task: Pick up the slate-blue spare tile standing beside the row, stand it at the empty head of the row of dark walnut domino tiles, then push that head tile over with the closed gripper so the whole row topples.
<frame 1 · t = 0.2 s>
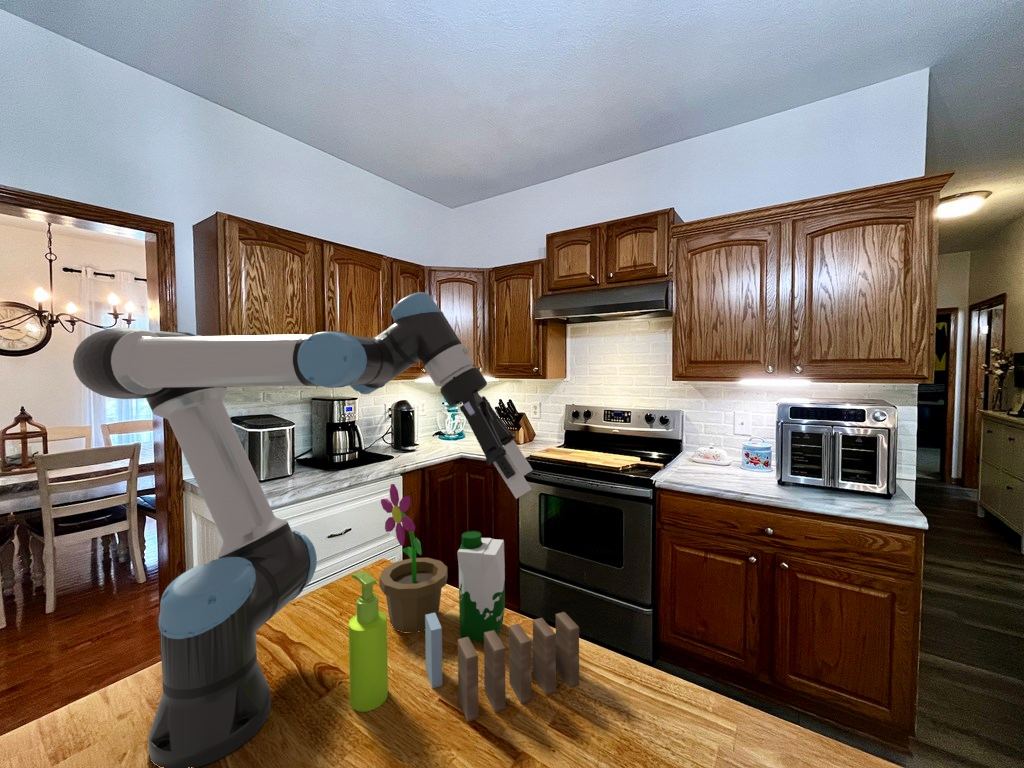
hand: (525, 483, 72), 35 cm above the counter, tool tilted 35°, fingers open, 13 cm apart
domino a: (468, 708, 68), on the counter
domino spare: (433, 677, 75), on the counter
domino b: (494, 699, 70), on the counter
domino c: (520, 691, 71), on the counter
domino d: (544, 683, 73), on the counter
milk carton: (482, 632, 88), on the counter
soap dispenser: (367, 697, 71), on the counter
domino e: (567, 676, 75), on the counter
flowerpot: (414, 619, 92), on the counter
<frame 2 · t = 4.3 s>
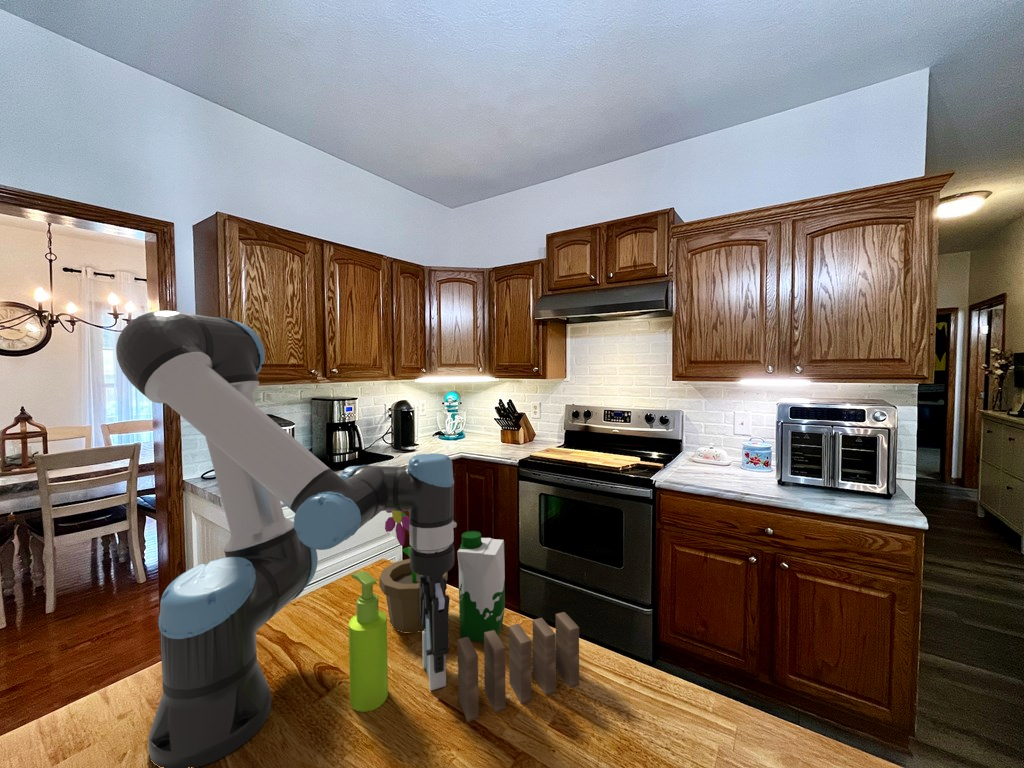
hand: (434, 675, 75), 0 cm above the counter, tool pointing down, fingers closed on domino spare, 5 cm apart
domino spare: (434, 677, 75), on the counter, touching gripper
everything else where it was.
when the fingers open (1 cm above the counter, at t = 8.9 s): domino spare stays where it is, on the counter.
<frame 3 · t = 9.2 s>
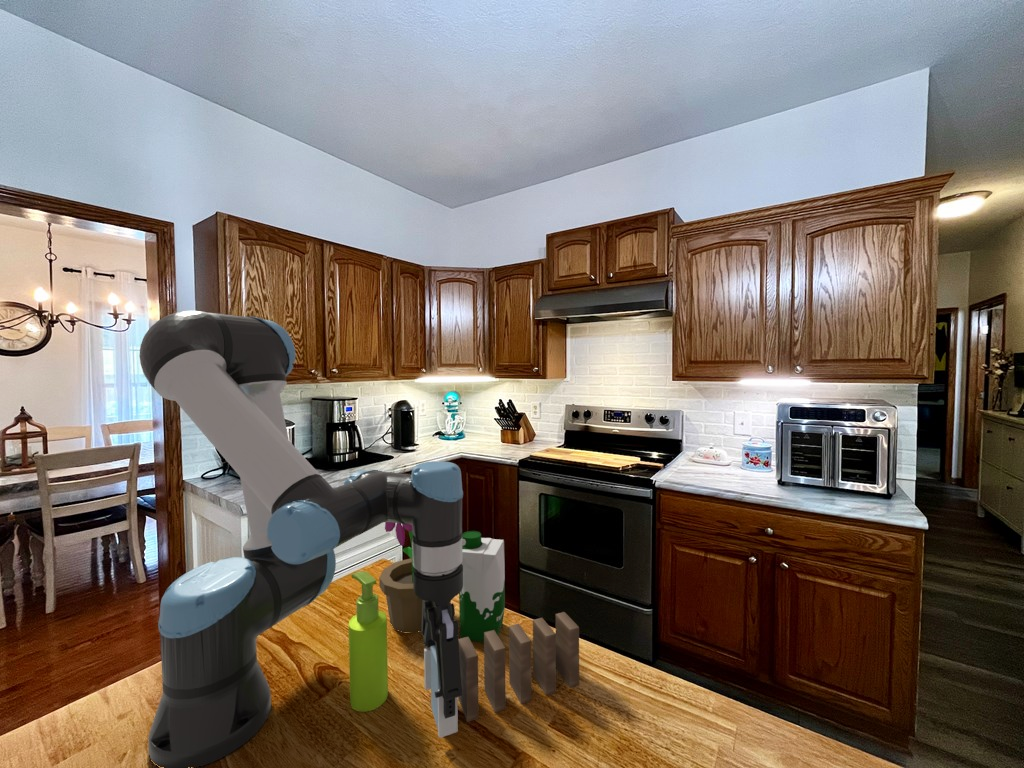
hand: (440, 707, 66), 2 cm above the counter, tool pointing down, fingers open, 9 cm apart
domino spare: (440, 717, 66), on the counter
everything else where it was.
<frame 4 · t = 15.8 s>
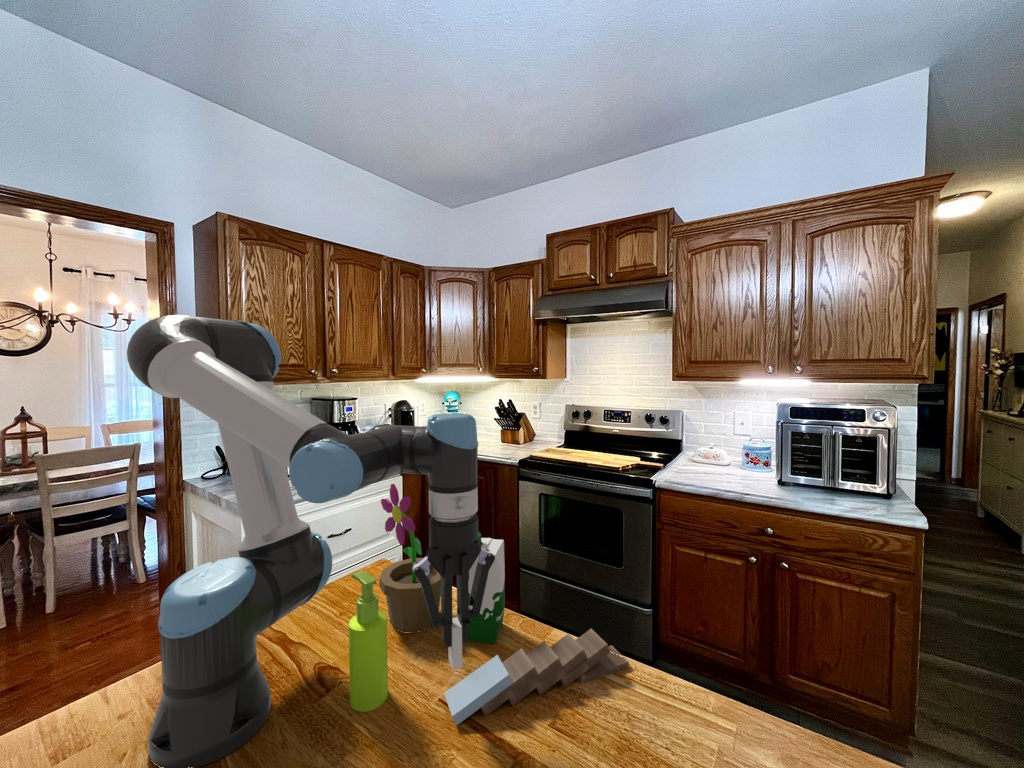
hand: (455, 663, 67), 8 cm above the counter, tool pointing down, fingers closed
domino a: (477, 700, 68), point 1 cm above the counter, tilted 68°, touching domino b, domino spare
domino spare: (450, 708, 67), point 1 cm above the counter, tilted 68°, touching domino a
domino b: (504, 691, 70), point 1 cm above the counter, tilted 68°, touching domino a, domino c
domino c: (531, 681, 73), point 1 cm above the counter, tilted 68°, touching domino b, domino d
domino d: (555, 673, 74), point 1 cm above the counter, tilted 70°, touching domino c, domino e
domino e: (573, 673, 75), on the counter, tilted 90°, touching domino d
everything else where it was.
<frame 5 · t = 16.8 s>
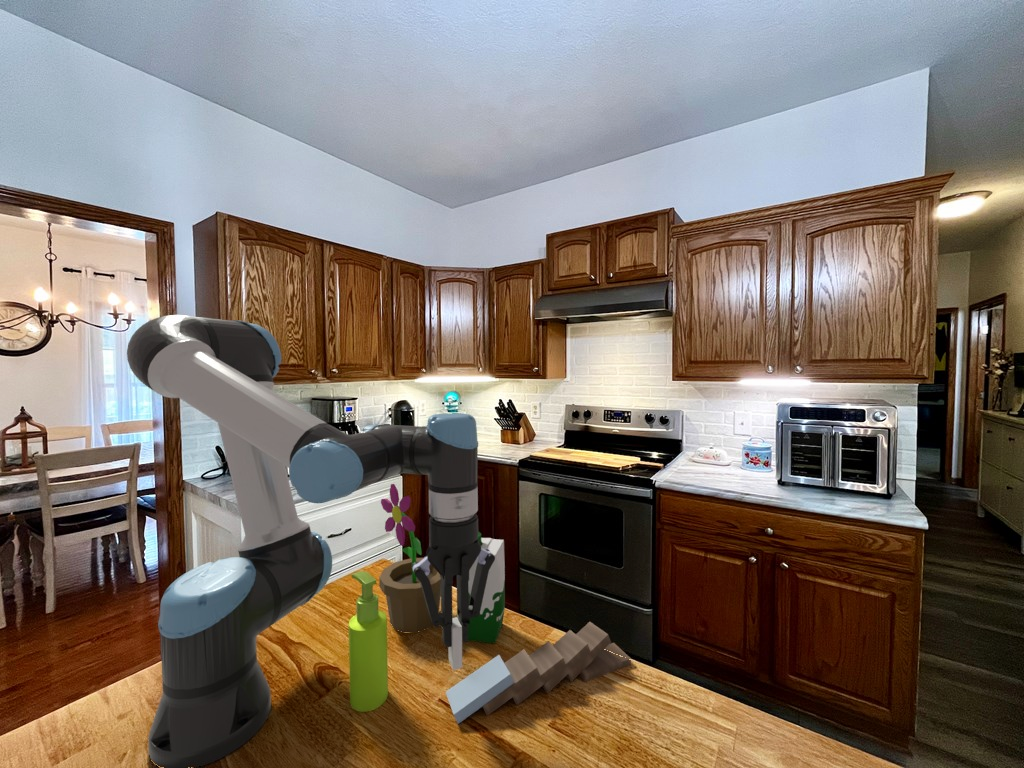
hand: (455, 663, 67), 8 cm above the counter, tool pointing down, fingers closed
domino c: (537, 680, 73), point 1 cm above the counter, tilted 68°, touching domino b, domino d
domino d: (560, 669, 75), point 1 cm above the counter, tilted 68°, touching domino c, domino e
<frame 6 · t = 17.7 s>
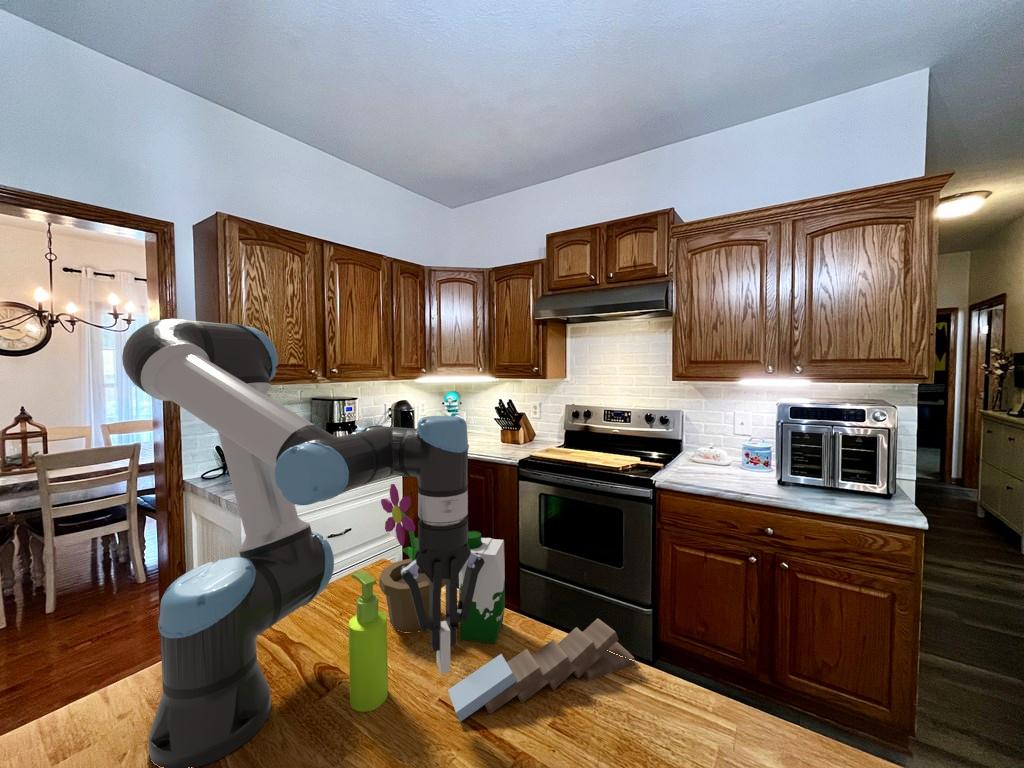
hand: (443, 667, 67), 8 cm above the counter, tool pointing down, fingers closed
domino c: (543, 677, 73), point 1 cm above the counter, tilted 66°, touching domino b, domino d
domino d: (567, 666, 76), point 1 cm above the counter, tilted 66°, touching domino c
domino e: (580, 669, 76), on the counter, tilted 90°
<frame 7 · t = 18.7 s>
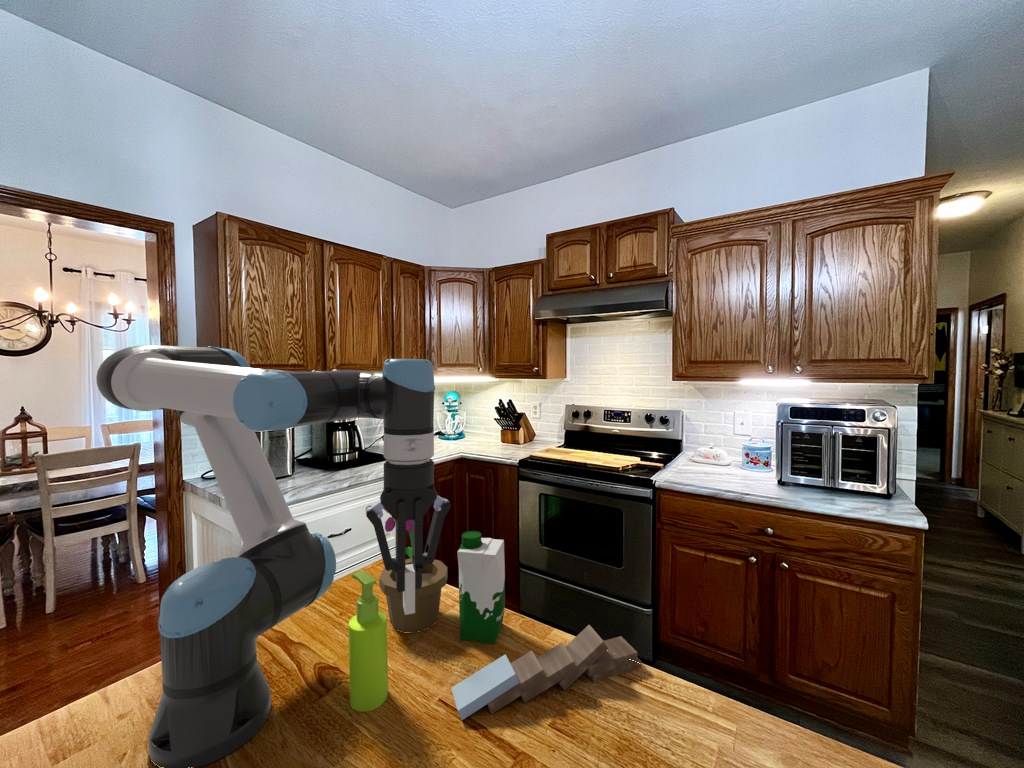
hand: (408, 609, 67), 17 cm above the counter, tool pointing down, fingers closed
domino a: (485, 698, 69), point 1 cm above the counter, tilted 70°, touching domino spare
domino b: (517, 687, 71), point 1 cm above the counter, tilted 69°, touching domino c
domino c: (555, 676, 74), point 1 cm above the counter, tilted 57°, touching domino b, domino d
domino d: (581, 662, 76), point 2 cm above the counter, tilted 90°, touching domino c, domino e
domino e: (585, 671, 76), on the counter, tilted 90°, touching domino d
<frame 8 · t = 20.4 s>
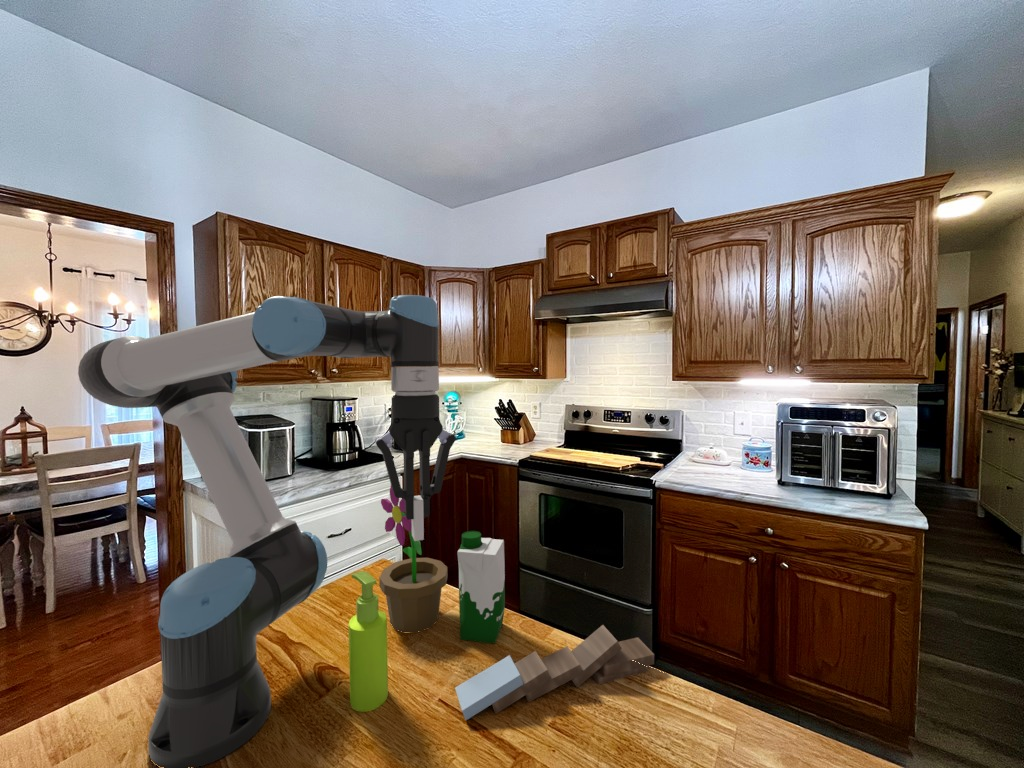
hand: (417, 537, 70), 26 cm above the counter, tool pointing down, fingers closed
domino b: (521, 686, 71), point 1 cm above the counter, tilted 75°, touching domino c
domino c: (568, 674, 74), point 1 cm above the counter, tilted 61°, touching domino b
domino d: (597, 661, 76), point 2 cm above the counter, tilted 90°, touching domino e
domino e: (591, 673, 75), on the counter, tilted 90°, touching domino d
at the end: domino e tilted 90°; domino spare tilted 72°; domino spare inside the target area (1.8 cm from its centre), point 1.2 cm above the counter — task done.
